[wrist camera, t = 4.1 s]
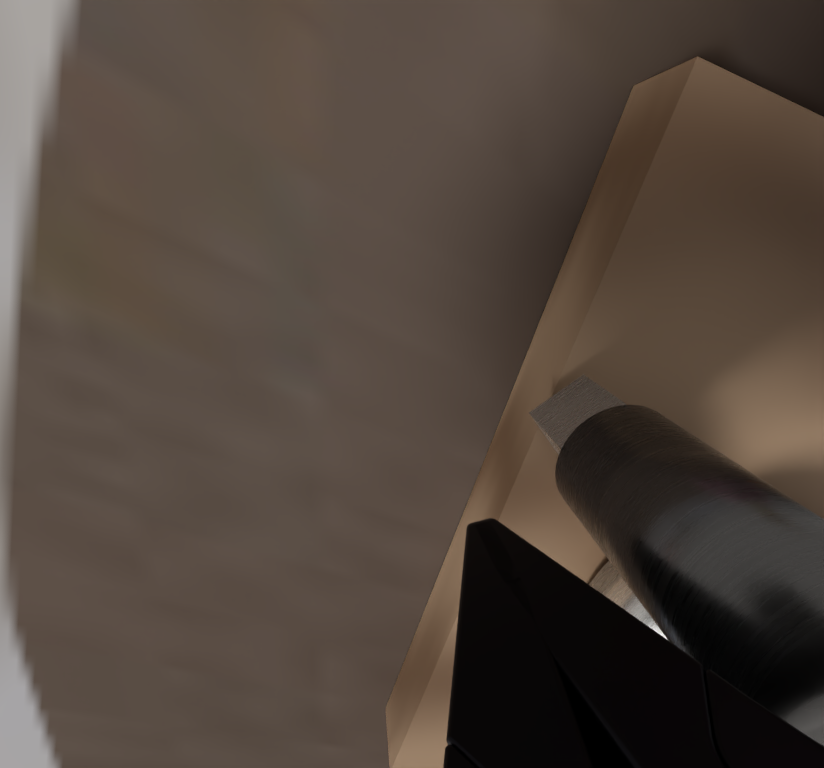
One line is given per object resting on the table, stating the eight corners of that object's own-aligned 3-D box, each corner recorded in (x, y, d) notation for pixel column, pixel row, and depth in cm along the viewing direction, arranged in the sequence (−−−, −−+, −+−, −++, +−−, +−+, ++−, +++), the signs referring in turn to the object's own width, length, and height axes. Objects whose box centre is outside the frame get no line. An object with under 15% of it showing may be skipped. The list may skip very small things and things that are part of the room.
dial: (860, 619, 14) (1217, 903, 8) (638, 747, 15) (820, 1084, 9) (709, 269, 9) (1287, 358, 4) (400, 487, 10) (461, 838, 4)
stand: (665, 731, 19) (707, 802, 16) (385, 707, 16) (391, 787, 14) (996, 247, 13) (1134, 254, 10) (633, 86, 10) (714, 48, 8)
